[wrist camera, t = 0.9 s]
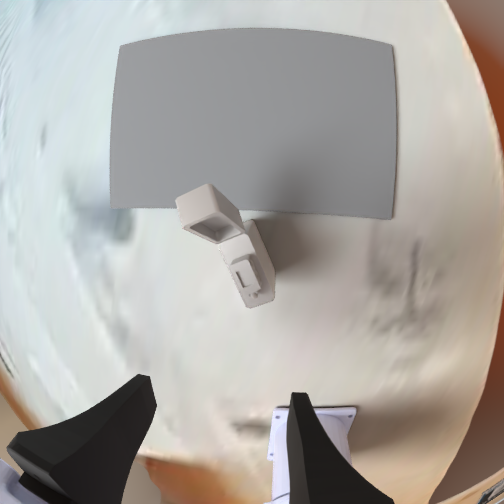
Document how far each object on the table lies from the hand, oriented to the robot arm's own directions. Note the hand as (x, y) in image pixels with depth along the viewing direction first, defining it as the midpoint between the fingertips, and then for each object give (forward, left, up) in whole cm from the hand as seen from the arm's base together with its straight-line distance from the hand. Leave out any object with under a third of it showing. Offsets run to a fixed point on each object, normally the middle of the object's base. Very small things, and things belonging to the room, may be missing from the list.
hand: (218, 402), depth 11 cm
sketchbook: (-72, -87, -11) cm, 114 cm away
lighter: (+6, 0, -10) cm, 12 cm away
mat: (+14, 0, -10) cm, 17 cm away
